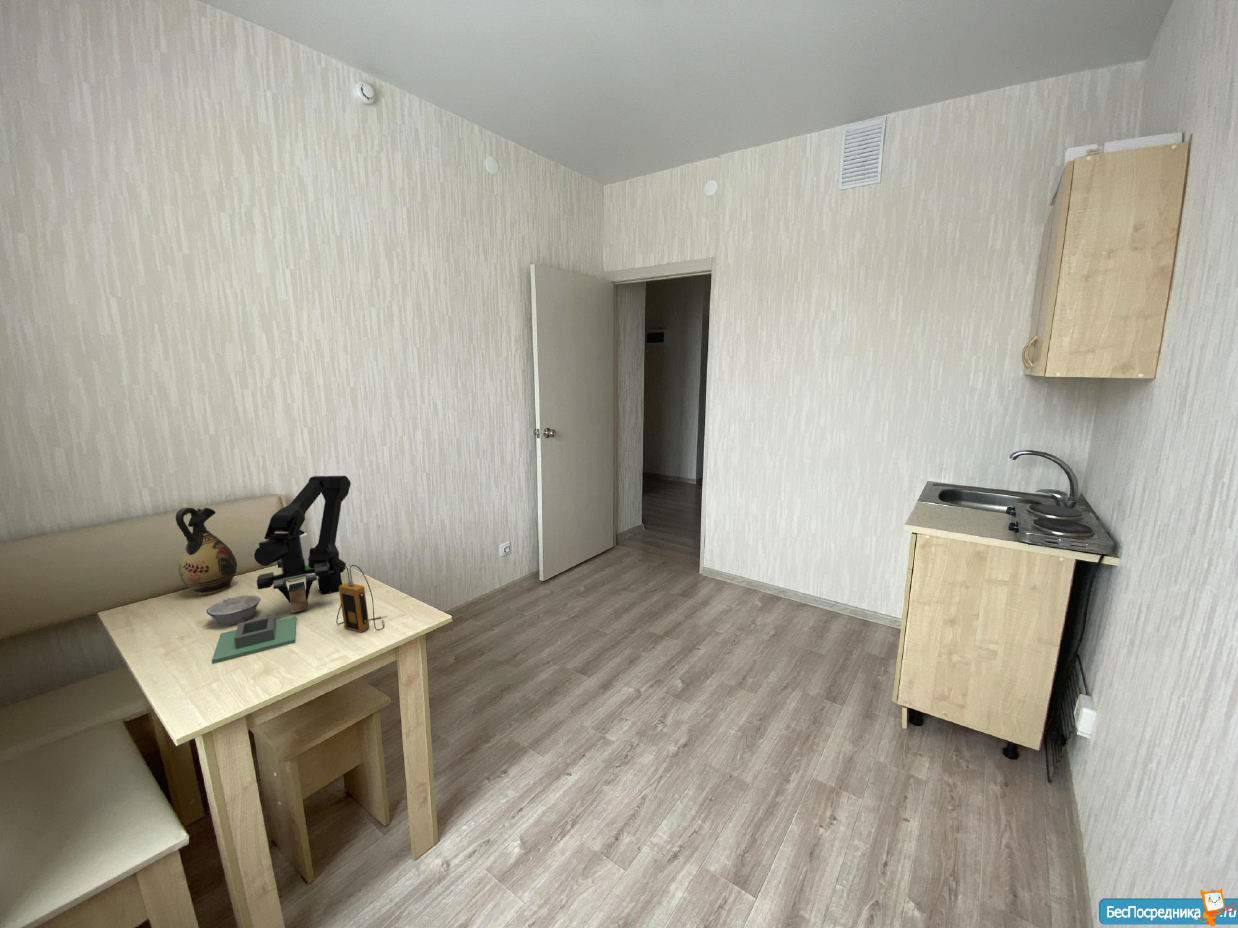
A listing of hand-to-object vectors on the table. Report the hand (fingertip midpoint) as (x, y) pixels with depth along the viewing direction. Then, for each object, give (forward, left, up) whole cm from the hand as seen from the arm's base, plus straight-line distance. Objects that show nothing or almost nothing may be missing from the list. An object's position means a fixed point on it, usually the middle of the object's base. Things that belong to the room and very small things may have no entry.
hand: (299, 600), depth 158 cm
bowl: (+17, -5, -3) cm, 18 cm away
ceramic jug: (+27, -36, -3) cm, 45 cm away
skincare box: (+1, -32, -3) cm, 32 cm away
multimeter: (-17, +21, -3) cm, 27 cm away
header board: (+10, +14, -3) cm, 17 cm away
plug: (0, 0, -2) cm, 2 cm away
